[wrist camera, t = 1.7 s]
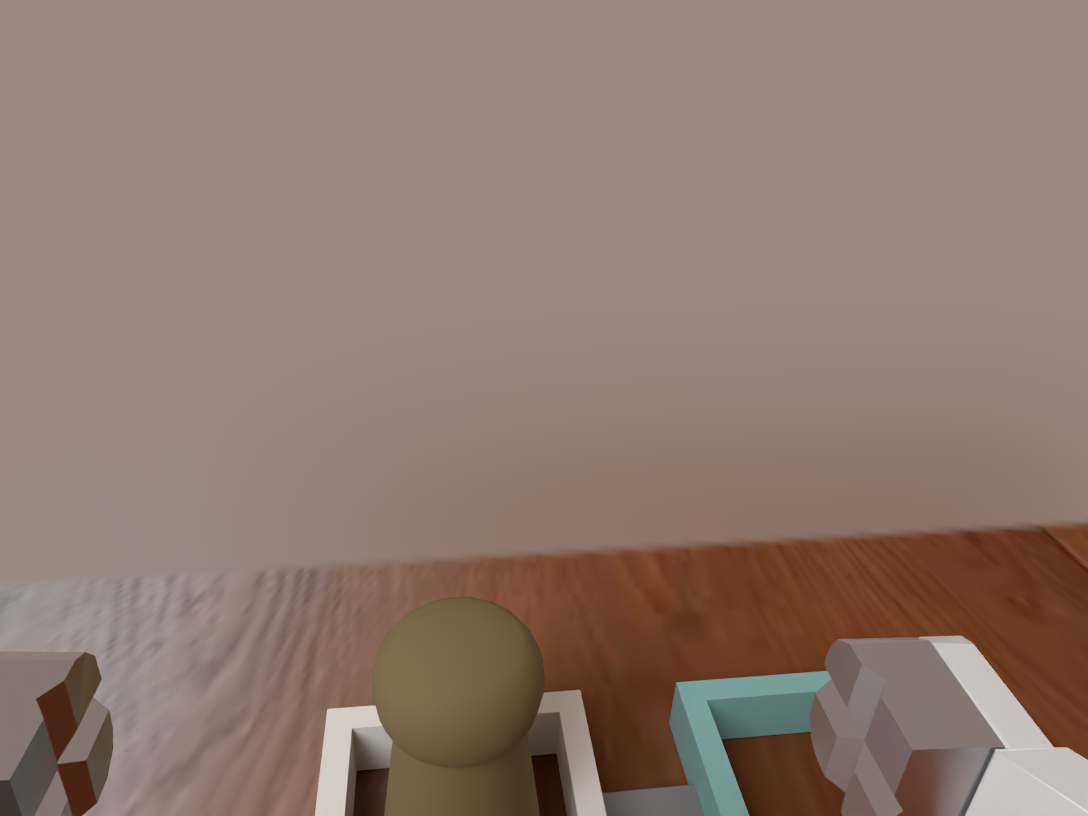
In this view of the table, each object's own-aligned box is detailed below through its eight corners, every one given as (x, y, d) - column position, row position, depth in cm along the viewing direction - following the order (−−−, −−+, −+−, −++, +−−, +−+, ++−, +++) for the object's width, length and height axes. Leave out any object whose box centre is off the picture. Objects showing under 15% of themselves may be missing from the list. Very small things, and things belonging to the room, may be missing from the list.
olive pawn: (400, 776, 33) (383, 560, 27) (552, 792, 32) (567, 577, 27) (356, 936, 28) (325, 709, 22) (537, 957, 27) (552, 732, 22)
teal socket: (888, 705, 37) (903, 665, 36) (1031, 943, 28) (1056, 901, 27) (669, 723, 35) (676, 682, 34) (748, 978, 27) (761, 936, 26)
